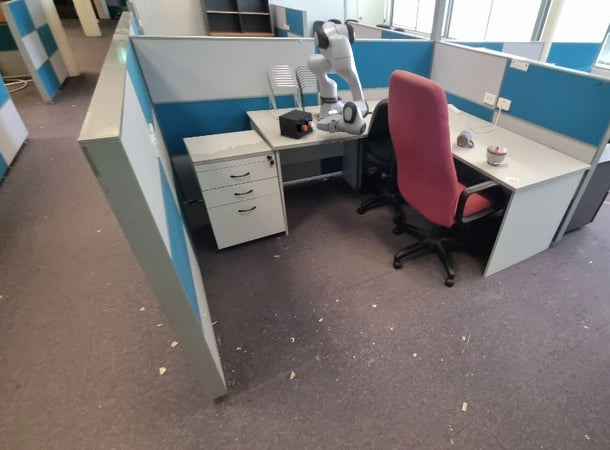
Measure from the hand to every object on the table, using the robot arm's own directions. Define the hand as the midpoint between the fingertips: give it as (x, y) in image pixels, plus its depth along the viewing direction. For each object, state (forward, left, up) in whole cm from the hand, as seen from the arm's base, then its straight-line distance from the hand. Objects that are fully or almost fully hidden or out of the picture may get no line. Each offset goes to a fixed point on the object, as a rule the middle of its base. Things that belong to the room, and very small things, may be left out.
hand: (318, 119), depth 193 cm
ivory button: (+3, -4, -6) cm, 8 cm away
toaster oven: (+10, -8, -10) cm, 17 cm away
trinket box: (-80, +66, -10) cm, 104 cm away
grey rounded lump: (-80, +40, -10) cm, 90 cm away
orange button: (+9, 0, -6) cm, 10 cm away
